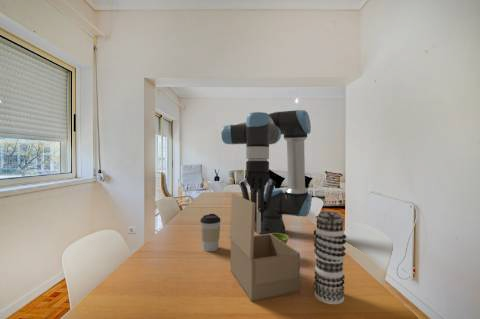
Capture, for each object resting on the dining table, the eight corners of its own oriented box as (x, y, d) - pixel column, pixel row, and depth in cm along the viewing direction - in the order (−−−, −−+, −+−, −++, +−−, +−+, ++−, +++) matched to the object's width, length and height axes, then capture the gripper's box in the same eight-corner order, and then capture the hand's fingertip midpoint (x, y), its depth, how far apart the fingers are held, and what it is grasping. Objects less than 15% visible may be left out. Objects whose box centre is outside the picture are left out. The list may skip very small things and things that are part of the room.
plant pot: (261, 254, 107) (261, 234, 107) (280, 251, 110) (280, 231, 110) (273, 263, 98) (273, 241, 98) (293, 259, 102) (293, 238, 102)
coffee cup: (217, 253, 108) (217, 218, 108) (197, 251, 110) (197, 217, 109) (222, 245, 117) (222, 213, 117) (204, 244, 119) (204, 212, 118)
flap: (234, 193, 91) (231, 193, 91) (255, 203, 73) (252, 203, 72) (232, 237, 91) (229, 237, 91) (252, 258, 73) (249, 258, 72)
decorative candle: (328, 308, 69) (329, 218, 69) (306, 291, 78) (307, 211, 77) (352, 301, 73) (353, 215, 73) (329, 285, 82) (330, 208, 81)
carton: (269, 264, 97) (270, 233, 97) (300, 292, 77) (300, 253, 77) (230, 270, 92) (230, 237, 92) (252, 302, 72) (252, 260, 72)
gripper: (270, 160, 89) (269, 226, 89) (235, 159, 84) (234, 230, 85) (280, 160, 82) (279, 232, 82) (243, 160, 77) (242, 236, 77)
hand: (256, 231), depth 83 cm, fingers closed
